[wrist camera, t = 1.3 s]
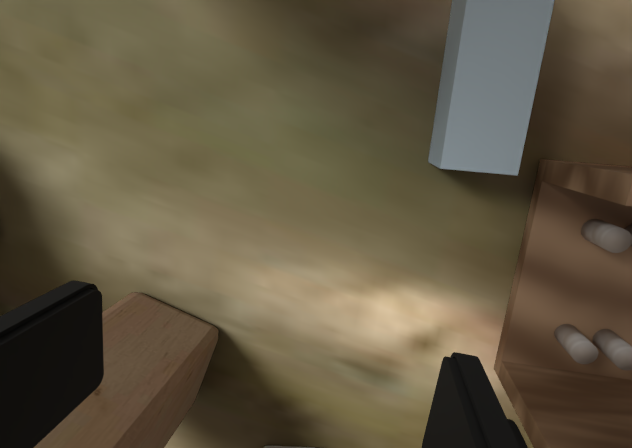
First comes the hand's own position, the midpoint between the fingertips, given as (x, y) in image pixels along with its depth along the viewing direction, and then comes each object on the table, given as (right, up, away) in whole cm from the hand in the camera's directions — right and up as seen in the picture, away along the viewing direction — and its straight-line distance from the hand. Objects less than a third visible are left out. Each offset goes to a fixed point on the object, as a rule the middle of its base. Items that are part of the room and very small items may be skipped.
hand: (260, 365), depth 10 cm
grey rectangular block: (+14, +15, +19) cm, 28 cm away
